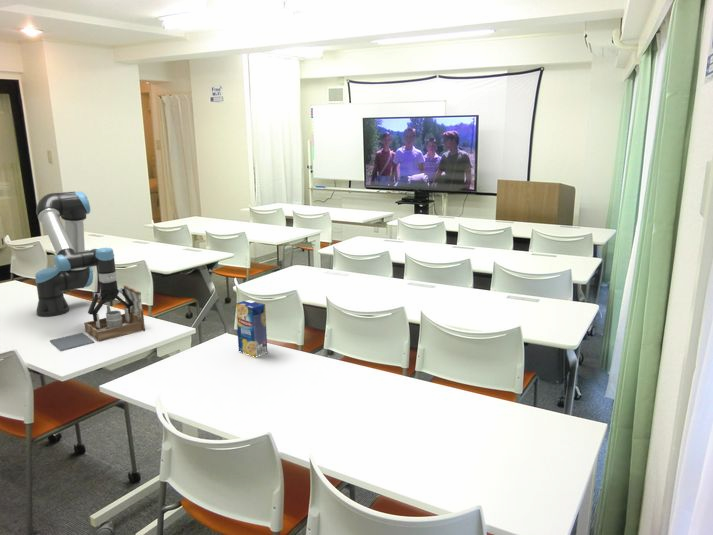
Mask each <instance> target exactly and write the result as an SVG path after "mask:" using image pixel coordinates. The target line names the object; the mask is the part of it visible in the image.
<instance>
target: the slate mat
mask: <svg viewBox="0 0 713 535" xmlns="http://www.w3.org/2000/svg"><path fill="white" fill-rule="evenodd" d="M49 342H50V343H51V344H52V345H53V346H54V347H55V348H57V350H59V351H60V352H64V351H68V350H70V349H71V350H72V349H76V348H79V347H83V346H87V345H91V344H95V341H94V340H93V339H92V338H90V337H89V336H87V335H86V334H85V333H83V332H79V333H73V334H71V335H66V336H62V337H58V338H54V339H49Z"/></svg>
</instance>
